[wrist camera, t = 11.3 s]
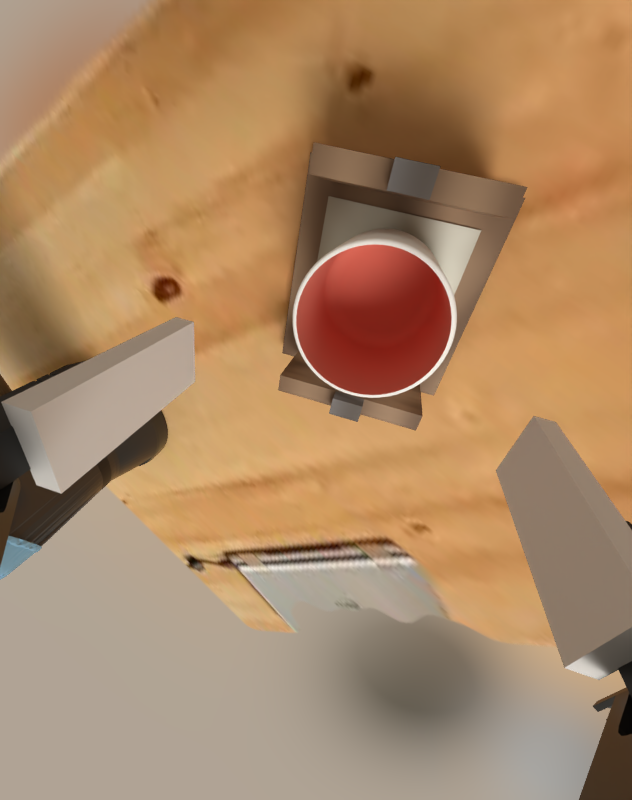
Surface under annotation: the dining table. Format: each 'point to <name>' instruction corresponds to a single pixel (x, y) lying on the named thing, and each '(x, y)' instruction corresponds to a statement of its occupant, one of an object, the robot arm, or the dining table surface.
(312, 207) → the holder
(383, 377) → the cup
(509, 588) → the dining table surface
